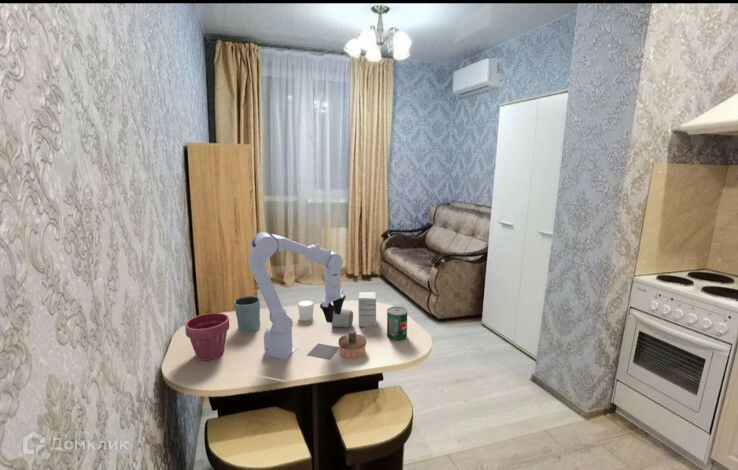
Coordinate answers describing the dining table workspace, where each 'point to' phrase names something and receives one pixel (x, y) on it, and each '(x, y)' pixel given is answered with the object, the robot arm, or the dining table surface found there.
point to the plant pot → (208, 334)
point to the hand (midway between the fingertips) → (333, 317)
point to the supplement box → (367, 309)
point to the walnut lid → (352, 341)
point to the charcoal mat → (323, 351)
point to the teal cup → (248, 313)
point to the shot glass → (305, 310)
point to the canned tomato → (397, 324)
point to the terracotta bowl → (352, 352)
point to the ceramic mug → (343, 319)
